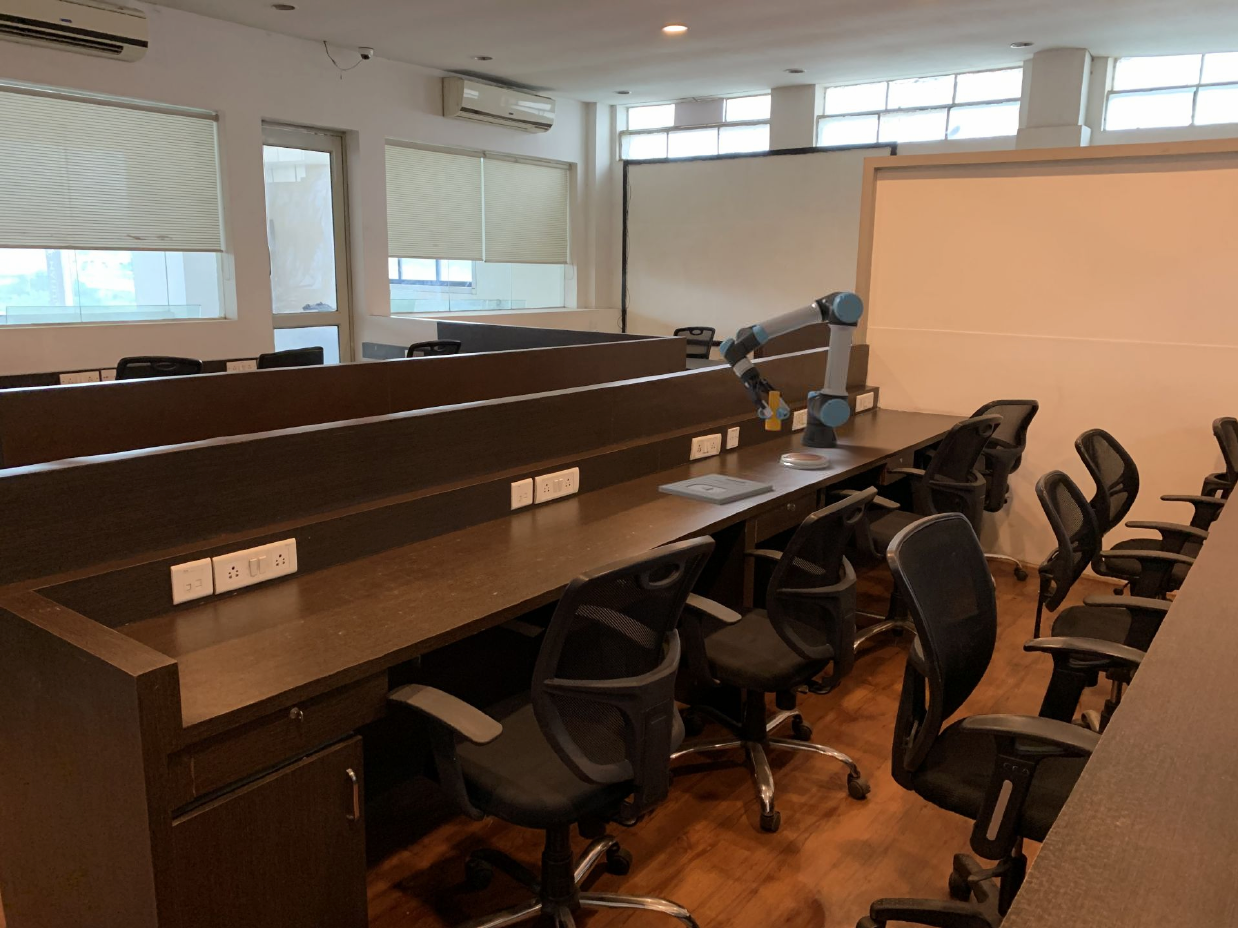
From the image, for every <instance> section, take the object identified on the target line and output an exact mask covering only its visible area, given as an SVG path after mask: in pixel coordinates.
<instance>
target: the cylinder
mask: <svg viewBox="0 0 1238 928" xmlns="http://www.w3.org/2000/svg"><path fill="white" fill-rule="evenodd" d="M780 393H781V392H780V391H779V390H778V391H769V396H768V406H769V408H770V409H771V410H772V412H773V414H772V415H771V416H770V417H769V418H768V417H767V416H766V414H765V413H764V415H762V414H761V411H763V410H762V409H761V408H760V407H759V409H758V412H757V415H758V417H759V418H761V419H765V424H764V425H765V428H764V429H765V430H767V431H780V430H781V429H782V419H783V420H785V419H787V418H788V417H789V416H790V410H788V409H786V408H782V409H781V407H779V397H780ZM782 410H786V411H787V413H786V415H785V414H784V413H783V411H782ZM784 415H785V416H784Z"/></svg>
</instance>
